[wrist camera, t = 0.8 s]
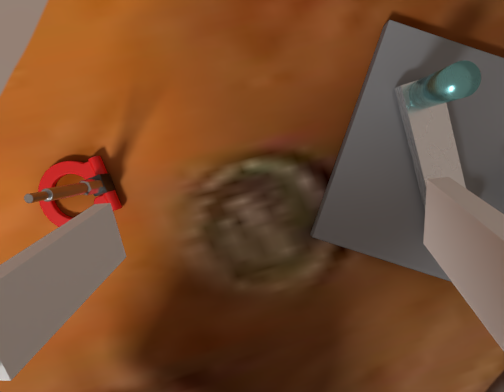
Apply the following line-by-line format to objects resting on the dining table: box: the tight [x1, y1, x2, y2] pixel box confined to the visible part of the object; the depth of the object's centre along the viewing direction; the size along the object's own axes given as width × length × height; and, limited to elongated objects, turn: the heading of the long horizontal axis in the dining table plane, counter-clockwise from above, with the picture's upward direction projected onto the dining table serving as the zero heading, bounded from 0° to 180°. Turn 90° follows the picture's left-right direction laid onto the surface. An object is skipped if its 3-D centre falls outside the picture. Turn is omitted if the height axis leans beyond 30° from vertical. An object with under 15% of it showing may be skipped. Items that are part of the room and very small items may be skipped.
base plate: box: [310, 20, 504, 282], centre depth 37 cm, size 25×29×2 cm
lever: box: [395, 60, 481, 209], centre depth 32 cm, size 19×5×8 cm, turn 17°
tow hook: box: [24, 156, 122, 227], centre depth 33 cm, size 8×13×9 cm
